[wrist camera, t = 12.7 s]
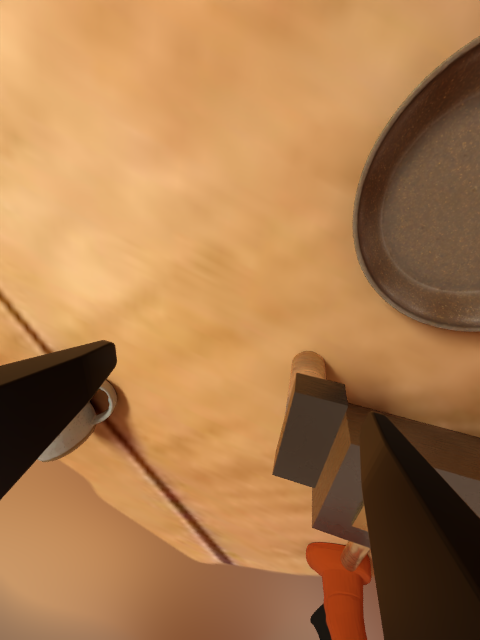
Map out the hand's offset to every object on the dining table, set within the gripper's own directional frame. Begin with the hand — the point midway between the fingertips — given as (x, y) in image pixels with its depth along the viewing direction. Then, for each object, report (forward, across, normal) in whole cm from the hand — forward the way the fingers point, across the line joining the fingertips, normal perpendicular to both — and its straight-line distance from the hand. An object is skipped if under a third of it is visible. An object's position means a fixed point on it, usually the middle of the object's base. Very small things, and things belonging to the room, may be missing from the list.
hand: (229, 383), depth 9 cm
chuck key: (+13, -4, +7) cm, 15 cm away
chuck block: (+13, -14, +20) cm, 28 cm away
